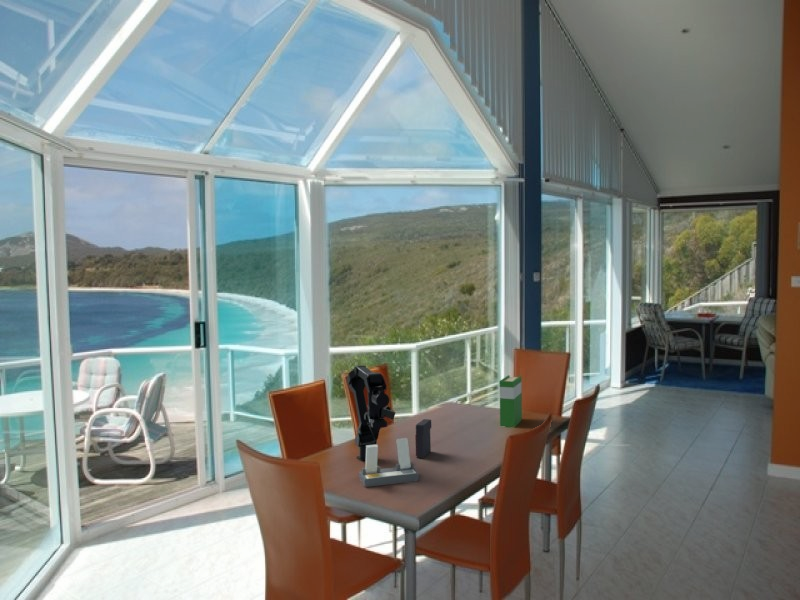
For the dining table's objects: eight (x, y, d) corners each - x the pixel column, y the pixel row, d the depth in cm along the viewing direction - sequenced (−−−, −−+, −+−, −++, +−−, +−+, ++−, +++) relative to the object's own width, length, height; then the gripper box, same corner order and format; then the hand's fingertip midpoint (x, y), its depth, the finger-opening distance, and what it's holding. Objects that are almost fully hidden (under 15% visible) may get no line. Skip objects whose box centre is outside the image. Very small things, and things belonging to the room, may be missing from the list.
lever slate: (399, 469, 255) (395, 439, 259) (409, 468, 256) (406, 438, 260) (400, 469, 253) (397, 438, 257) (411, 468, 255) (407, 437, 258)
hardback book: (508, 418, 346) (507, 375, 345) (521, 419, 344) (521, 376, 342) (500, 426, 330) (499, 381, 329) (514, 427, 327) (513, 381, 326)
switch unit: (359, 478, 255) (359, 465, 254) (411, 472, 260) (411, 459, 260) (364, 487, 245) (364, 473, 245) (419, 480, 251) (418, 467, 250)
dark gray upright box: (423, 450, 291) (422, 418, 290) (432, 451, 289) (431, 419, 288) (414, 457, 280) (414, 424, 279) (424, 458, 279) (423, 425, 278)
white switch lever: (365, 471, 252) (366, 445, 248) (375, 470, 253) (376, 444, 249) (366, 474, 250) (367, 447, 246) (376, 473, 252) (378, 446, 248)
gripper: (398, 405, 260) (399, 443, 260) (388, 397, 278) (389, 432, 278) (372, 408, 257) (373, 446, 257) (363, 399, 275) (364, 435, 276)
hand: (376, 439), depth 267 cm, fingers closed
